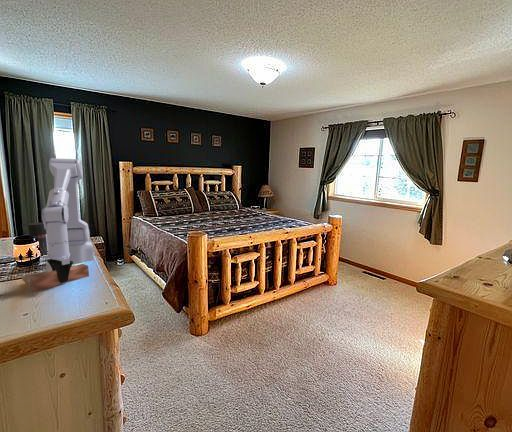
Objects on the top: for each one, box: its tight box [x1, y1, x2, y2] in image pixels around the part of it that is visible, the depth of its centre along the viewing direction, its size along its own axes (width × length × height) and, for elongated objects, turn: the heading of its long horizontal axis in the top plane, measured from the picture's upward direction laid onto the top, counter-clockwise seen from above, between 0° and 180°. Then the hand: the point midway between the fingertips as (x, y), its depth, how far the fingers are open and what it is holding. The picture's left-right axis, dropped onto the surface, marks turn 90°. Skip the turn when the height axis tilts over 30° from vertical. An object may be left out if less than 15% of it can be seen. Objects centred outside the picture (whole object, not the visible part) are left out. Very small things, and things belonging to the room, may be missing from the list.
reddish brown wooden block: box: [30, 263, 90, 292], centre depth 95 cm, size 16×4×5 cm, turn 146°
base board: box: [20, 264, 76, 285], centre depth 102 cm, size 17×11×1 cm, turn 139°
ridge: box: [42, 260, 53, 273], centre depth 102 cm, size 4×9×4 cm, turn 49°
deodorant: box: [27, 222, 49, 257], centre depth 127 cm, size 6×6×15 cm
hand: (61, 280), depth 95 cm, fingers closed on reddish brown wooden block, 4 cm apart
